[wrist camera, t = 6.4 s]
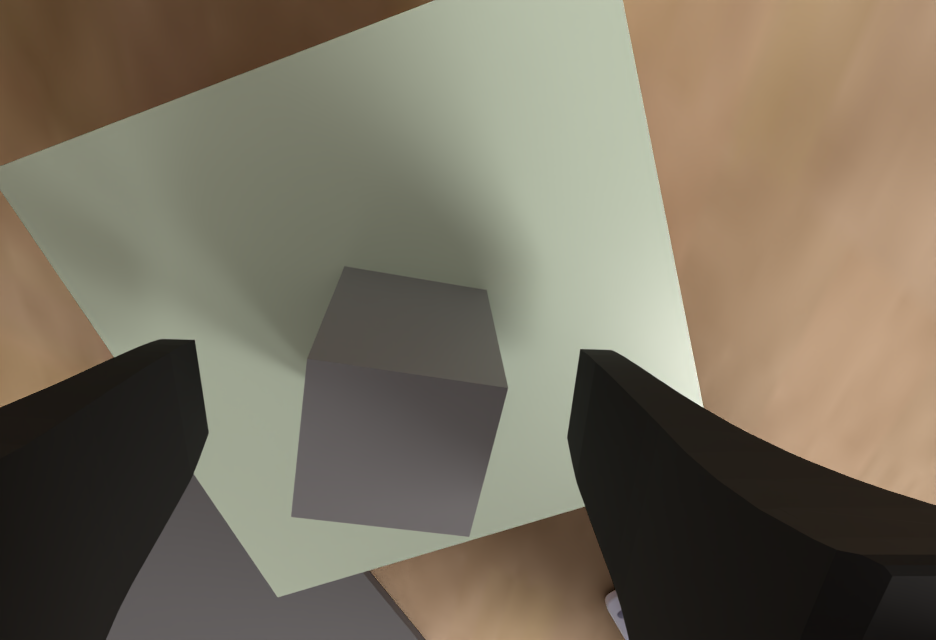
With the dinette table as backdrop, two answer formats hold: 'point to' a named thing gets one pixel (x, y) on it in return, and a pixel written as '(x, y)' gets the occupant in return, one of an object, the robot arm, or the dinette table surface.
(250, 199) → the sheet
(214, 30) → the dinette table surface
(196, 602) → the mat
